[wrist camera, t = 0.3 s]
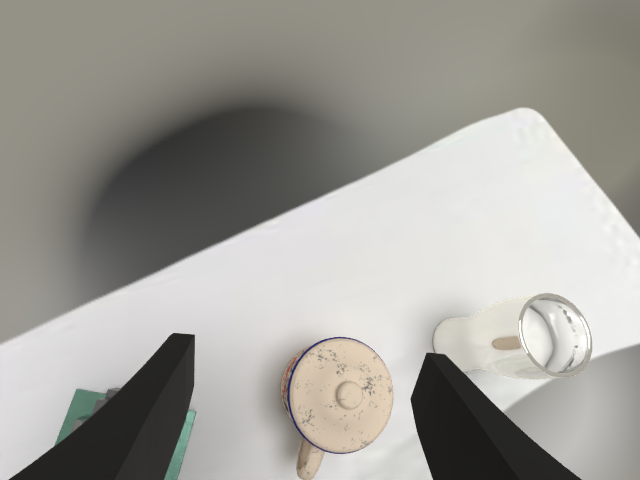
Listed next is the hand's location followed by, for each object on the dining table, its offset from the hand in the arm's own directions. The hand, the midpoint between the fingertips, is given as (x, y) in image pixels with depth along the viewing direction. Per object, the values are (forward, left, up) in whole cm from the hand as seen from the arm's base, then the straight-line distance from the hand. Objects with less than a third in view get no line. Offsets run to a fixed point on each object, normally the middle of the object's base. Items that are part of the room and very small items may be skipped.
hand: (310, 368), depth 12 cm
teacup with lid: (-2, -6, -30) cm, 31 cm away
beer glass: (+7, -21, -30) cm, 37 cm away
